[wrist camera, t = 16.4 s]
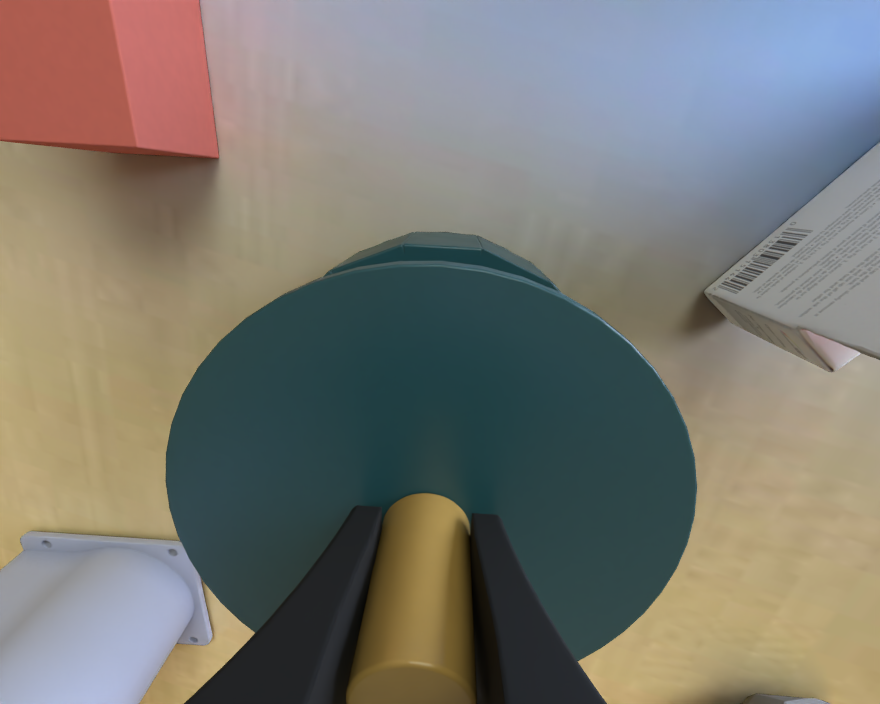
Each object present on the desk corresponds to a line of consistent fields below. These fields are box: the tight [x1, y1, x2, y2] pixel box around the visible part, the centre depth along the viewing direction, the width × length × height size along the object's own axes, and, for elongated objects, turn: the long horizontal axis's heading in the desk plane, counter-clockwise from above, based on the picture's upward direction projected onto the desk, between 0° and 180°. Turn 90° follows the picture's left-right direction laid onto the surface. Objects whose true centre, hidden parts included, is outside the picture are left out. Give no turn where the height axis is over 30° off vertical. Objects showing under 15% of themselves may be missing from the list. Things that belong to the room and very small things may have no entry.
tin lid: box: [166, 261, 697, 704], centre depth 9 cm, size 13×13×5 cm
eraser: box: [0, 0, 219, 158], centre depth 13 cm, size 7×4×4 cm, turn 177°
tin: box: [323, 232, 560, 292], centre depth 17 cm, size 12×12×4 cm
